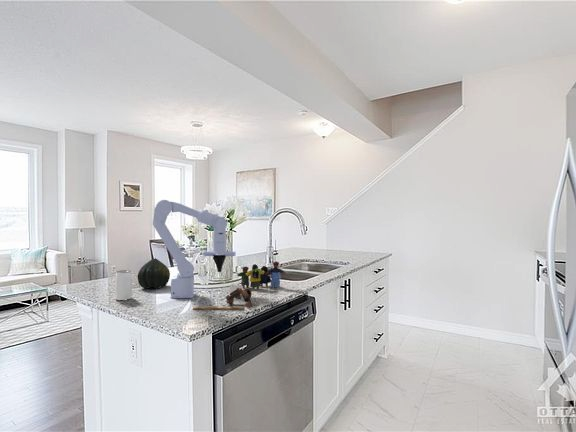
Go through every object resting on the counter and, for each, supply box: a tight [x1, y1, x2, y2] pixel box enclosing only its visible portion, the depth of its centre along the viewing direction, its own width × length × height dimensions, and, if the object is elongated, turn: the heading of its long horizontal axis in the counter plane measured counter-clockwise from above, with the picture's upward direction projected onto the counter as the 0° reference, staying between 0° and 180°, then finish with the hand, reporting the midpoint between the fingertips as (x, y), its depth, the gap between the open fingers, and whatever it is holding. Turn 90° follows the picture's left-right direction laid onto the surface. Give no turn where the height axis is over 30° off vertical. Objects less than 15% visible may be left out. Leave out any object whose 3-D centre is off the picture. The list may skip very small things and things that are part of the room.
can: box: [114, 269, 133, 301], centre depth 141 cm, size 6×6×12 cm
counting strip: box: [192, 305, 244, 311], centre depth 126 cm, size 19×2×1 cm, turn 90°
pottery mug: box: [225, 287, 253, 310], centre depth 131 cm, size 12×10×8 cm
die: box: [229, 283, 242, 296], centre depth 146 cm, size 5×5×5 cm
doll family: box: [236, 261, 287, 290], centre depth 161 cm, size 23×9×13 cm, turn 118°
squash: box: [137, 257, 171, 290], centre depth 163 cm, size 14×15×15 cm
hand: (219, 271), depth 152 cm, fingers closed
